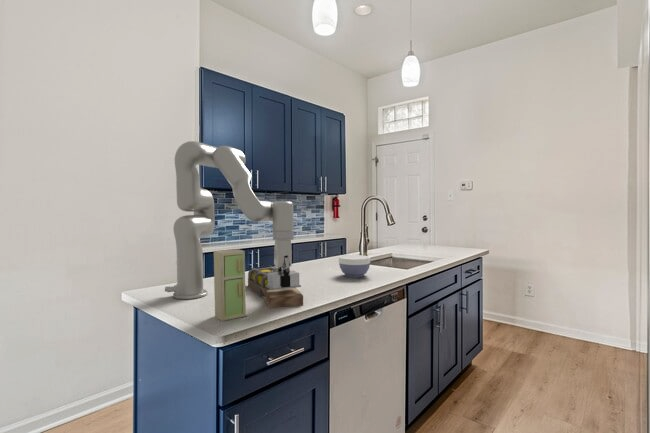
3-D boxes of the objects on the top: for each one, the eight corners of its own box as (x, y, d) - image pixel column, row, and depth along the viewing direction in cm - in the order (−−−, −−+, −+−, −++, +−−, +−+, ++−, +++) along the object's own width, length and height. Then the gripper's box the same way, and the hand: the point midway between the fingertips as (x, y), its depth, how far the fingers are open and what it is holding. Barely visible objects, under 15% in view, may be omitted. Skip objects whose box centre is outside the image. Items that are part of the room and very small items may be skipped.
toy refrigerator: (222, 322, 105) (221, 253, 104) (214, 316, 111) (213, 250, 110) (246, 317, 110) (246, 251, 109) (238, 311, 115) (237, 248, 115)
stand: (269, 308, 119) (269, 296, 119) (265, 300, 129) (265, 290, 129) (303, 305, 123) (303, 293, 123) (296, 298, 132) (296, 287, 132)
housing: (271, 290, 120) (271, 275, 120) (266, 286, 126) (265, 272, 126) (301, 286, 125) (301, 273, 125) (294, 283, 131) (294, 270, 131)
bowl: (335, 273, 180) (335, 255, 180) (365, 272, 183) (365, 254, 183) (342, 279, 165) (342, 259, 164) (374, 278, 168) (374, 258, 167)
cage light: (274, 264, 163) (301, 275, 136) (274, 281, 163) (301, 295, 137) (243, 267, 156) (266, 279, 129) (243, 285, 156) (266, 300, 130)
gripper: (269, 234, 132) (269, 280, 133) (276, 237, 116) (277, 291, 116) (288, 233, 134) (289, 279, 135) (298, 237, 118) (299, 289, 118)
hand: (283, 284), depth 125 cm, fingers closed on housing, 6 cm apart
